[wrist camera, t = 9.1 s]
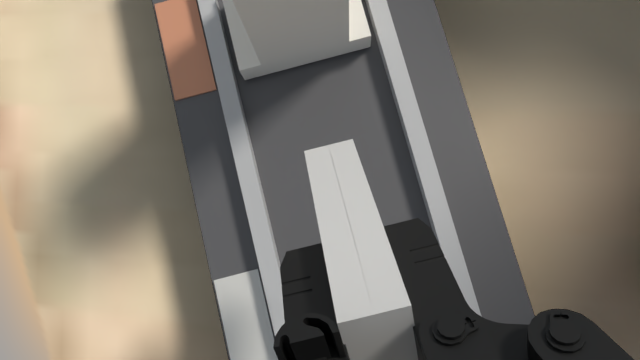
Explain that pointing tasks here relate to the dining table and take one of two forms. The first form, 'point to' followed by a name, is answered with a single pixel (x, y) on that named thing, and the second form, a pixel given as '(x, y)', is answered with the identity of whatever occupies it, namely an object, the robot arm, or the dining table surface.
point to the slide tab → (293, 32)
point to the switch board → (324, 129)
